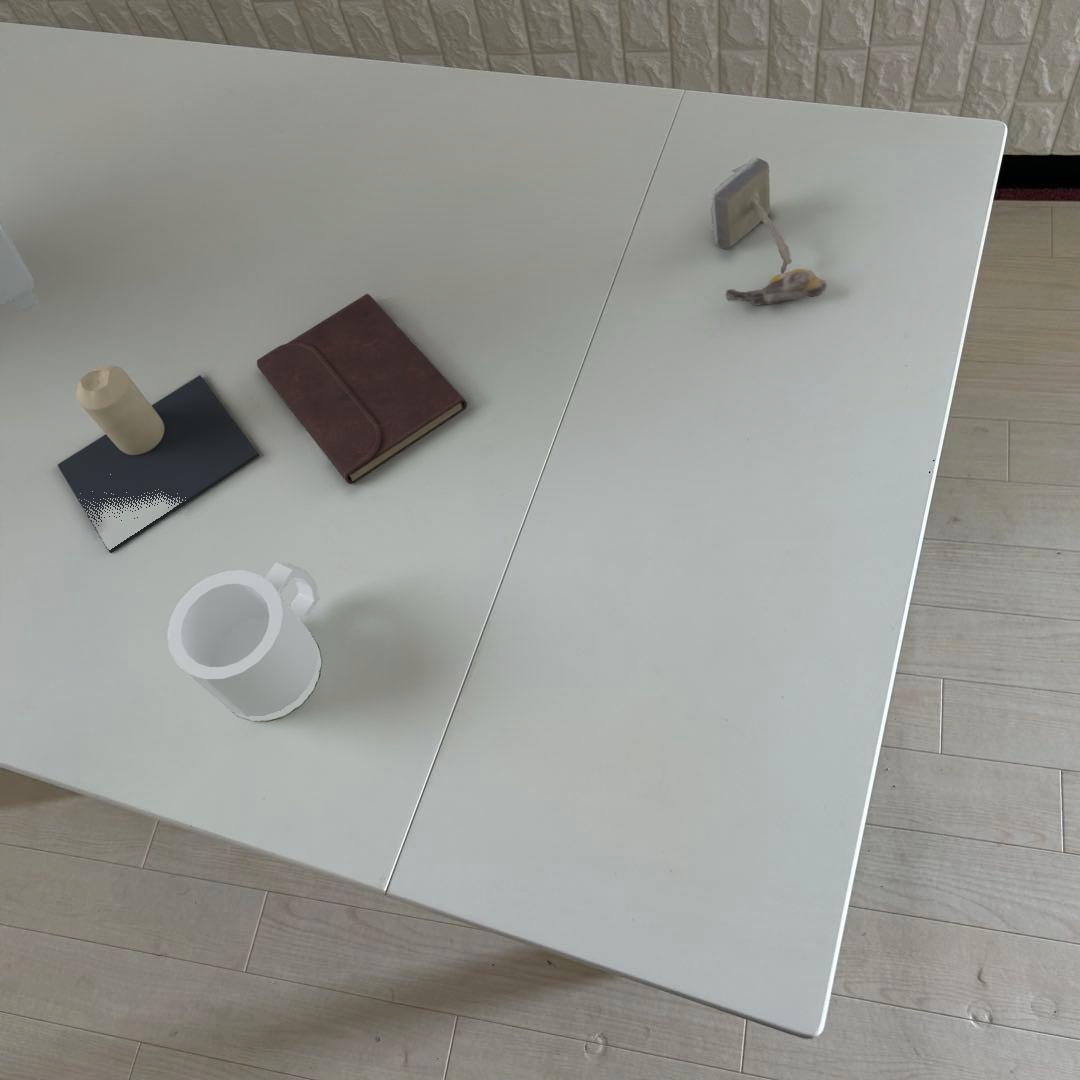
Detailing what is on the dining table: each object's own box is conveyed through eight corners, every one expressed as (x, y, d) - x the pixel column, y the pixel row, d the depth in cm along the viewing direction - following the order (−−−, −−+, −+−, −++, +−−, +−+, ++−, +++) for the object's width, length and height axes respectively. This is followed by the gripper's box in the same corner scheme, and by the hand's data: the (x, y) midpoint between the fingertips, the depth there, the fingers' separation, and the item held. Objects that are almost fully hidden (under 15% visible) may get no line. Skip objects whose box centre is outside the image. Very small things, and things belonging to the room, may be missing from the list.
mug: (277, 577, 103) (235, 523, 94) (361, 616, 100) (327, 565, 91) (195, 694, 98) (143, 650, 89) (281, 740, 95) (236, 699, 86)
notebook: (373, 301, 119) (368, 289, 118) (468, 407, 110) (464, 395, 108) (260, 372, 116) (254, 360, 115) (348, 486, 107) (343, 476, 106)
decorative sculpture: (828, 300, 111) (836, 250, 104) (744, 332, 110) (747, 284, 104) (760, 203, 119) (764, 151, 112) (681, 232, 118) (680, 182, 112)
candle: (161, 407, 115) (117, 349, 107) (168, 445, 112) (124, 389, 104) (113, 424, 115) (66, 367, 106) (119, 462, 112) (71, 407, 104)
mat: (110, 553, 107) (108, 551, 107) (59, 467, 114) (56, 464, 113) (259, 455, 111) (257, 453, 110) (201, 377, 117) (199, 374, 117)
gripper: (-152, 115, 92) (-56, 231, 104) (-78, 243, 82) (19, 354, 94) (-86, 81, 93) (2, 200, 105) (-6, 203, 84) (81, 318, 96)
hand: (10, 274), depth 100 cm, fingers open, 8 cm apart
